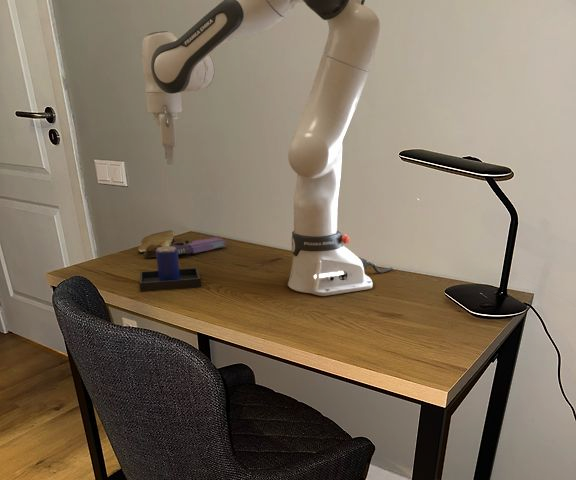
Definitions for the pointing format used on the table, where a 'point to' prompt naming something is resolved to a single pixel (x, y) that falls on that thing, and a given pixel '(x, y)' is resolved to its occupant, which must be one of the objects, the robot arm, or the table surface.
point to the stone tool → (155, 242)
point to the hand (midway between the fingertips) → (169, 161)
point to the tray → (187, 280)
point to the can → (167, 263)
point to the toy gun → (198, 245)
